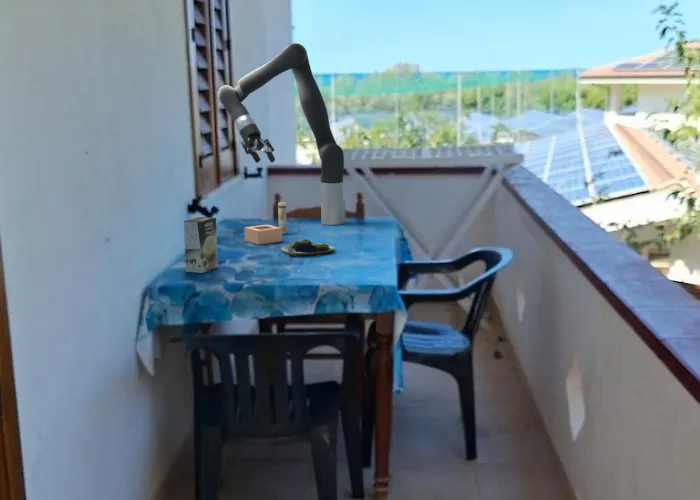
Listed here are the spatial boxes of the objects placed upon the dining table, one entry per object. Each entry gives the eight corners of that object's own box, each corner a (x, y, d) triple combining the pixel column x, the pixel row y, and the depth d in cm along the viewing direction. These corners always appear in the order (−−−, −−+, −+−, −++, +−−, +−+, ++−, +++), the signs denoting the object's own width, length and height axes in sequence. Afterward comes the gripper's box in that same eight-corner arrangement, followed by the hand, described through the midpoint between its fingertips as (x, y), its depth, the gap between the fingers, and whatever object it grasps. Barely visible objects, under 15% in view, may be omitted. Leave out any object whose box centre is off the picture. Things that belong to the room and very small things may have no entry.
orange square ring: (268, 237, 300) (267, 224, 299) (281, 241, 292) (281, 228, 292) (244, 240, 295) (244, 227, 294) (258, 244, 287) (257, 231, 286)
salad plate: (269, 250, 279) (269, 237, 278) (314, 244, 287) (314, 232, 286) (293, 260, 262) (292, 246, 261) (340, 254, 271) (340, 240, 270)
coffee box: (203, 273, 243) (200, 221, 240) (185, 271, 245) (182, 220, 242) (218, 267, 251) (216, 217, 248) (201, 265, 253) (198, 216, 250)
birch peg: (284, 232, 311) (283, 202, 309) (288, 233, 308) (287, 202, 306) (277, 233, 309) (276, 202, 307) (281, 234, 307) (280, 203, 304)
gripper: (240, 122, 307) (259, 155, 303) (265, 123, 319) (283, 155, 315) (229, 134, 311) (248, 167, 307) (254, 134, 323) (272, 166, 319)
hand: (266, 161), depth 311 cm, fingers open, 8 cm apart
